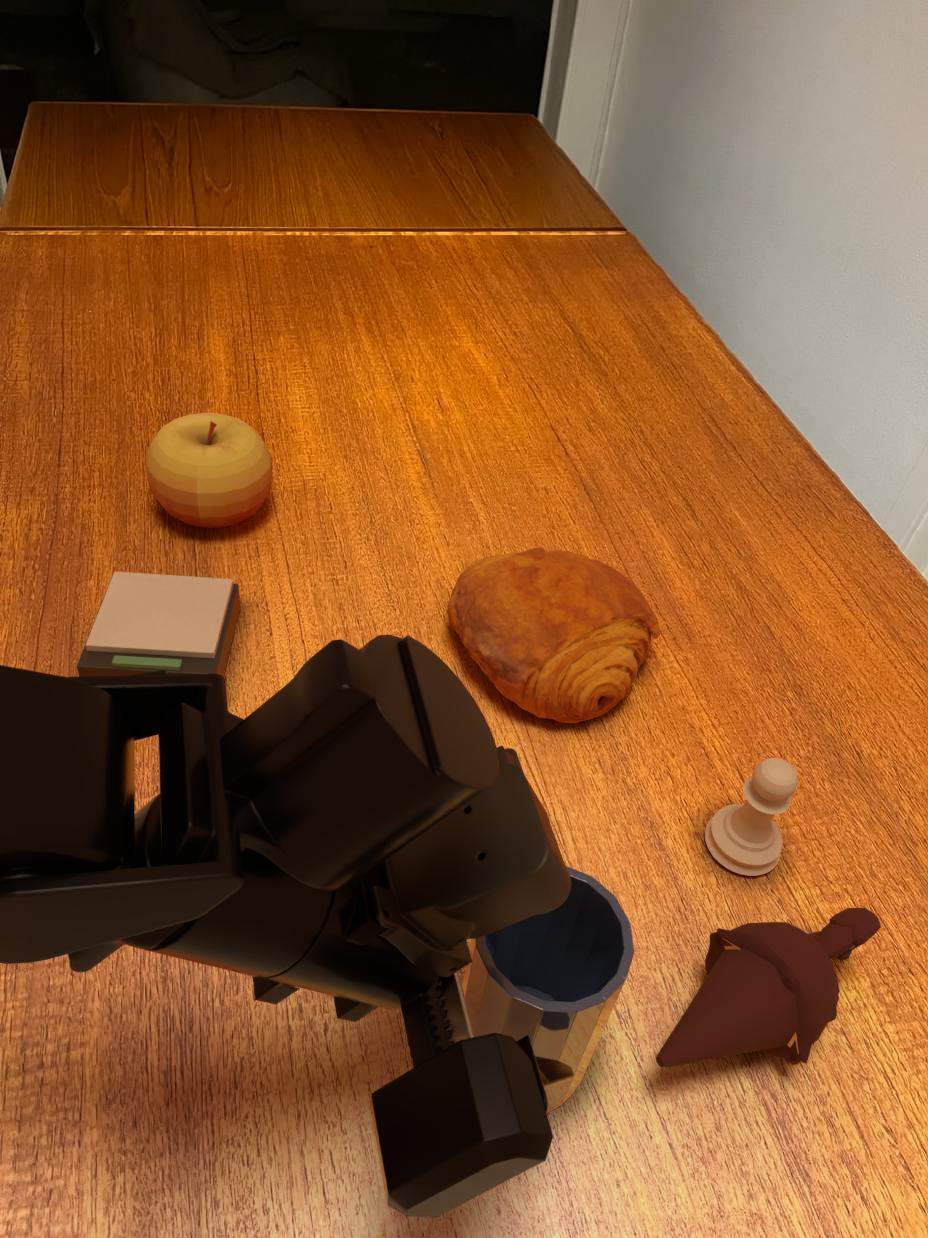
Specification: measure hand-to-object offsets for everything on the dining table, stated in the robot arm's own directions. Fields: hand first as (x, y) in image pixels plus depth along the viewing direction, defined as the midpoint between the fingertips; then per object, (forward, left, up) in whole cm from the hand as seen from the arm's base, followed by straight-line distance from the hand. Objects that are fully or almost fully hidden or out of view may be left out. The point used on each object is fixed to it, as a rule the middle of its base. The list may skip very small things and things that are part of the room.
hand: (533, 976), depth 45 cm
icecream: (+13, +2, -8) cm, 15 cm away
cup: (0, 0, -8) cm, 8 cm away
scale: (-24, +27, -8) cm, 37 cm away
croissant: (+4, +29, -8) cm, 31 cm away
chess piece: (+15, +13, -8) cm, 21 cm away
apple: (-23, +43, -8) cm, 50 cm away
